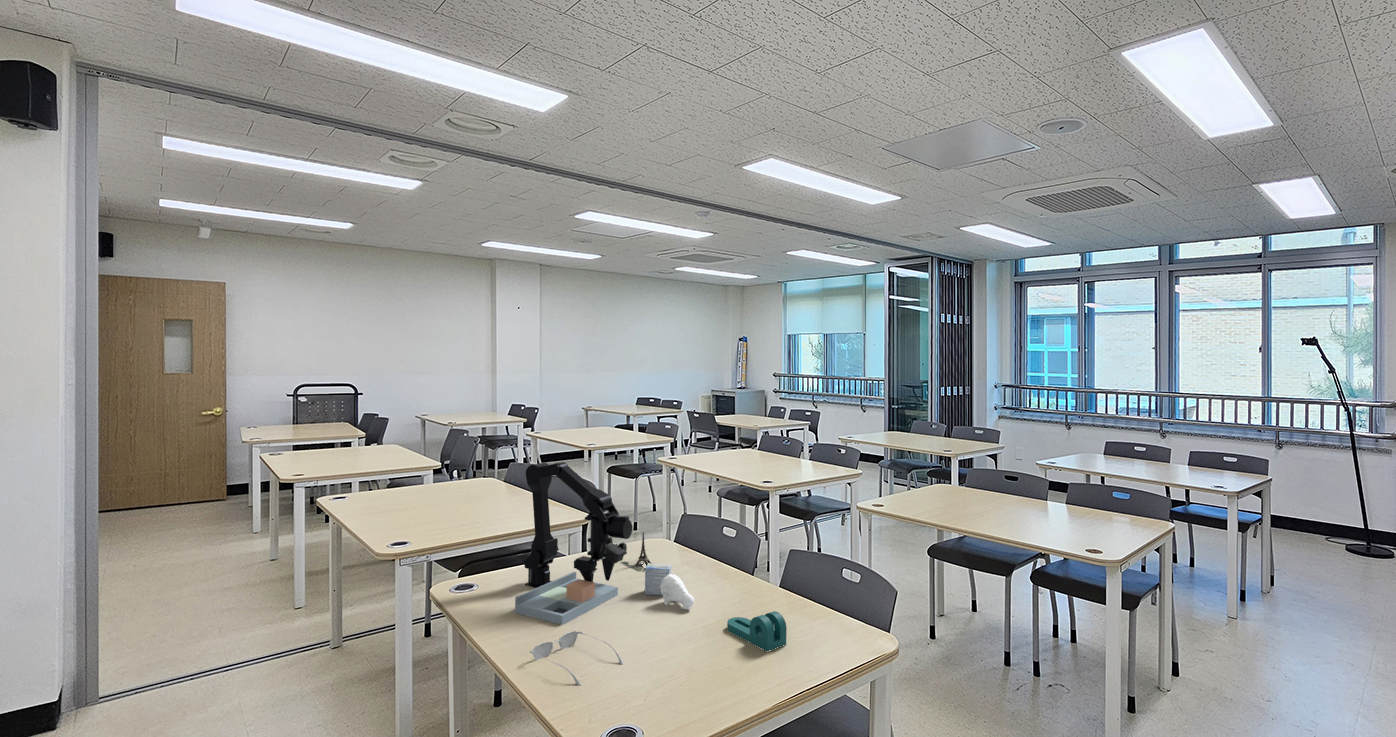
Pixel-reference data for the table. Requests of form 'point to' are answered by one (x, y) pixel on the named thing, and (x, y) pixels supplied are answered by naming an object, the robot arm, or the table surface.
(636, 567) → the eiffel tower figurine
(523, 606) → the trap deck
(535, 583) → the robot arm
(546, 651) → the eyeglasses
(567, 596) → the block
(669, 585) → the white animal figurine
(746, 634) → the bracket
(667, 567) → the medicine box
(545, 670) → the table surface
